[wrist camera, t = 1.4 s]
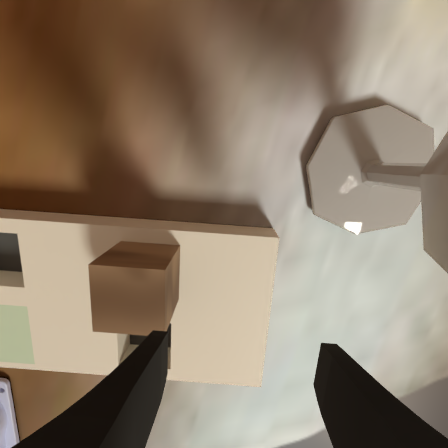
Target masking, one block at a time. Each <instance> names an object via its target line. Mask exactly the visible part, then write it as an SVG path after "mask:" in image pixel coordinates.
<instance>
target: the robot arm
mask: <svg viewBox="0 0 448 448" xmlns="http://www.w3.org/2000/svg"><path fill="white" fill-rule="evenodd" d="M167 374H168V331H156V330H153V331H152V332H151V333H150V334H149V335H148V336H147V337H146V338H145V339H144V340H143V341H142V342H141V343H140V344H139V345H138V346H137V347H136V348H135V350H134V351H133V352H132V353H131V354H130V355H129V356H128V357H127V358H126V359H125V360H123V361H122V362H121V363H120V364H119V365H118V366H117V367H116V368H115V369H114V370H113V371H112V372H111V373H110V374H109V375H108V376H106V377H105V378H104V379H103V380H102V381H101V382H100V383H99V384H97V385H96V386H95V387H94V388H93V389H92V390H91V391H89V392H88V393H87V394H86V395H85V396H83V397H82V398H81V399H80V400H78V401H77V402H76V403H74V404H73V405H72V406H71V407H69V408H68V409H67V410H65V411H64V412H63V413H61V414H60V415H59V416H57V417H56V418H54V419H53V420H52V421H50V422H49V423H47V424H46V425H44V426H43V427H41V428H40V429H38V430H37V431H36V432H34V433H33V434H31V435H30V436H28V437H27V438H25V439H24V440H22V441H21V442H19V436H18V430H17V424H16V418H15V412H14V406H13V400H12V394H11V387H10V382H9V380H8V379H6V378H0V448H145V446H146V443H147V440H148V437H149V435H150V432H151V429H152V426H153V423H154V420H155V417H156V414H157V411H158V409H159V406H160V403H161V399H162V395H163V391H164V387H165V383H166V378H167ZM314 389H315V393H316V397H317V401H318V405H319V408H320V412H321V415H322V418H323V421H324V423H325V426H326V429H327V432H328V434H329V437H330V440H331V442H332V445H333V448H448V439H447V438H446V437H444V436H443V435H442V434H441V433H439V432H438V431H436V430H435V429H434V428H433V427H431V426H430V425H429V424H427V423H426V422H425V421H424V420H422V419H421V418H420V417H419V416H417V415H416V414H415V413H414V412H412V411H411V410H410V409H409V408H408V407H406V406H405V405H404V404H403V403H402V402H400V401H399V400H398V399H397V398H396V397H395V396H393V395H392V394H391V393H390V392H389V391H388V390H386V389H385V388H384V387H383V386H382V385H381V384H380V383H379V382H377V381H376V380H375V379H374V378H373V377H372V376H371V375H370V374H369V373H368V372H367V371H365V370H364V369H363V368H362V367H361V366H360V365H359V364H358V363H357V362H356V361H355V360H354V359H353V358H351V357H350V356H349V355H348V354H347V353H346V352H345V351H344V350H343V349H342V348H340V347H339V346H338V345H337V344H329V343H321V347H320V352H319V358H318V363H317V369H316V374H315V380H314Z"/></svg>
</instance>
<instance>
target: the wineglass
mask: <svg viewBox="0 0 448 448" xmlns="http://www.w3.org/2000/svg"><path fill="white" fill-rule="evenodd" d="M306 170H307V177H308V184H309V190H310V197H311V204H312V211H313V214H314V215H316V216H318V217H320V218H322V219H324V220H326V221H329V222H331V223H333V224H335V225H337V226H339V227H341V228H343V229H345V230H348V231H350V232H352V233H354V234H359V233H364V232H370V231H375V230H380V229H385V228H390V227H395V226H400V225H405V224H406V223H407V222H408V220H409V219H410V217H411V216H412V214H413V213H414V211H415V210H416V208H417V207H418V205H419V204H420V202H421V204H422V225H423V246H424V251H425V252H426V253H427V254H429V255H430V256H431V257H432V258H433V259H434V260H435V261H436V262H437V263H438V264H439V265H440V266H441V267H442V268H443V269H444V270H445V271H446V272H447V273H448V132H447V133H446V135H445V136H444V138H443V140H442V141H441V143H440V144H439V146H438V147H437V149H436V150H435V152H434V129H433V128H432V127H430V126H428V125H426V124H424V123H422V122H420V121H418V120H416V119H415V118H413V117H411V116H409V115H407V114H405V113H403V112H401V111H399V110H397V109H395V108H393V107H392V106H390V105H381V106H377V107H373V108H369V109H365V110H360V111H356V112H352V113H348V114H344V115H339V116H335V117H332V118H331V120H330V122H329V124H328V125H327V127H326V129H325V131H324V133H323V135H322V137H321V139H320V141H319V142H318V144H317V146H316V148H315V150H314V152H313V154H312V156H311V158H310V160H309V161H308V163H307V165H306Z"/></svg>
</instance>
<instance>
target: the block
mask: <svg viewBox="0 0 448 448" xmlns="http://www.w3.org/2000/svg"><path fill="white" fill-rule="evenodd" d="M88 270H89V285H90V300H91V315H92V330H93V332H104V333H117V334H130V335H144V336H148V335H149V334H150V333H151V332H152V331H153V330H156V331H167V329H168V326H169V324H170V321H171V318H172V316H173V313H174V311H175V308H176V305H177V303H178V300H179V275H180V245H169V244H155V243H141V242H127V241H120V242H119V243H117V244H116V245H115V246H113V247H112V248H110V249H109V250H108V251H106V252H105V253H103V254H102V255H101V256H99V257H98V258H96V259H95V260H94V261H92V262H91V263H90V264H88Z"/></svg>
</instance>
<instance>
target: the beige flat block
mask: <svg viewBox="0 0 448 448" xmlns="http://www.w3.org/2000/svg"><path fill="white" fill-rule="evenodd" d="M120 241H127V242H141V243H155V244H169V245H180V275H179V300H178V303H177V305H176V308H175V311H174V313H173V316H172V318H171V321H170V324H169V326H168V329H167V331H168V374H167V378H166V380H176V381H189V382H202V383H215V384H228V385H241V386H253V387H261V382H262V374H263V366H264V358H265V350H266V342H267V334H268V326H269V318H270V310H271V301H272V293H273V285H274V277H275V269H276V261H277V253H278V245H279V237H278V235H277V233H276V232H275V230H274V229H273V228H263V227H249V226H235V225H221V224H207V223H193V222H178V221H164V220H150V219H136V218H122V217H108V216H93V215H79V214H65V213H51V212H37V211H23V210H8V209H0V367H7V368H20V369H33V370H46V371H59V372H72V373H85V374H98V375H109V374H110V373H111V372H112V371H113V370H114V369H115V368H116V367H117V366H118V365H119V364H120V363H121V362H122V361H123V360H125V359H126V358H127V357H128V356H129V355H130V354H131V353H132V352H133V351H134V350H135V348H136V347H137V346H138V345H139V344H140V343H141V342H142V341H143V340H144V339H145V338H146V337H147V336H144V335H130V334H117V333H104V332H93V330H92V315H91V300H90V285H89V270H88V264H90V263H91V262H92V261H94V260H95V259H96V258H98V257H99V256H101V255H102V254H103V253H105V252H106V251H108V250H109V249H110V248H112V247H113V246H115V245H116V244H117V243H119V242H120Z"/></svg>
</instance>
